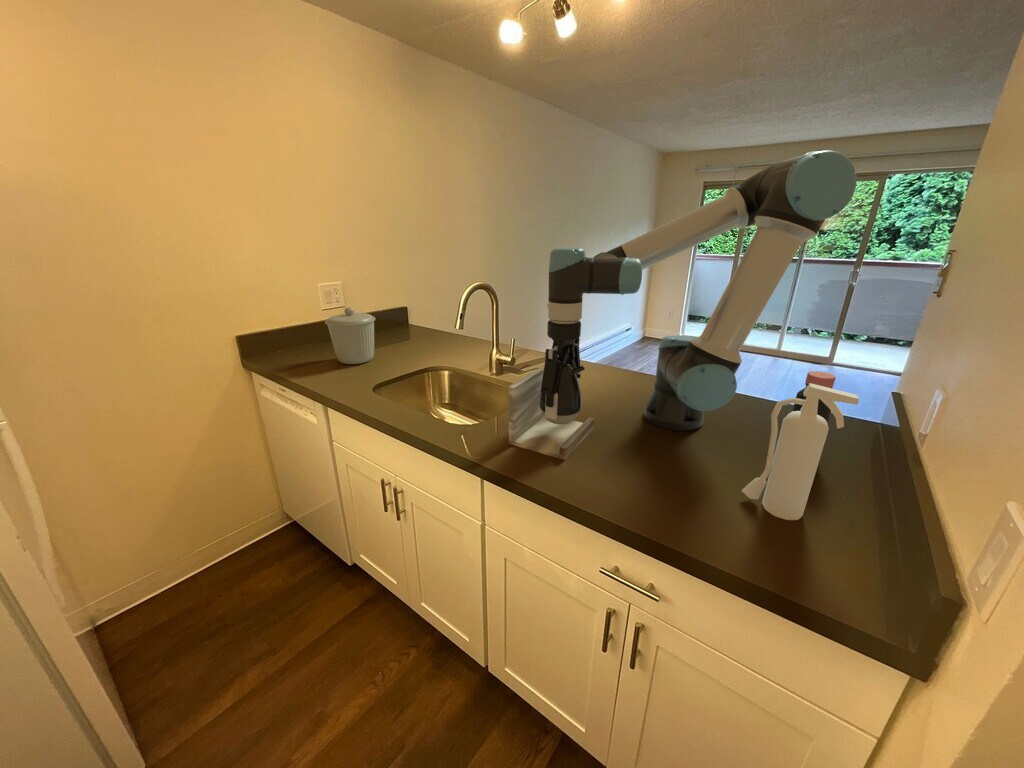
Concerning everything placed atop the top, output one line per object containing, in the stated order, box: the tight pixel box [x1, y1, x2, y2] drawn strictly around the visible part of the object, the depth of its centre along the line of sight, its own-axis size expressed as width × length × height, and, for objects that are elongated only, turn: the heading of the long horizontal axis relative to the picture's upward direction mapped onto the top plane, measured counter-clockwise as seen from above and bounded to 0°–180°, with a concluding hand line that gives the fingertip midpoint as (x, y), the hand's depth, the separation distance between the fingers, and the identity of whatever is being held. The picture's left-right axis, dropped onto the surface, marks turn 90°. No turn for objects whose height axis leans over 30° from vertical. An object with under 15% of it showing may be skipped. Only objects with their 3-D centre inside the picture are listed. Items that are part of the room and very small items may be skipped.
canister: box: [324, 306, 376, 365], centre depth 161 cm, size 18×18×21 cm
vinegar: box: [791, 370, 836, 425], centre depth 92 cm, size 7×7×20 cm
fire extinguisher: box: [741, 383, 860, 521], centre depth 74 cm, size 7×12×25 cm, turn 57°
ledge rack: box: [507, 365, 595, 461], centre depth 103 cm, size 15×18×15 cm
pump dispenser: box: [540, 362, 586, 425], centre depth 100 cm, size 10×10×15 cm
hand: (560, 409), depth 102 cm, fingers closed on pump dispenser, 10 cm apart
